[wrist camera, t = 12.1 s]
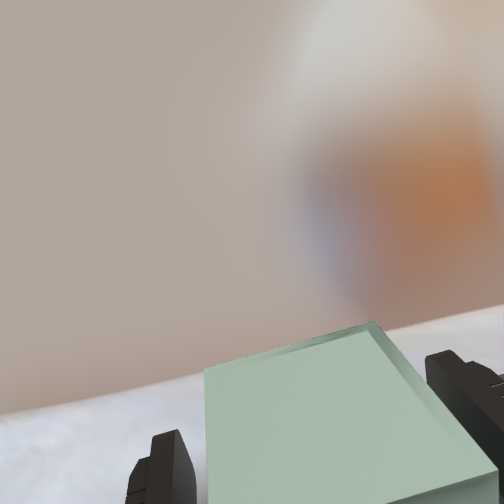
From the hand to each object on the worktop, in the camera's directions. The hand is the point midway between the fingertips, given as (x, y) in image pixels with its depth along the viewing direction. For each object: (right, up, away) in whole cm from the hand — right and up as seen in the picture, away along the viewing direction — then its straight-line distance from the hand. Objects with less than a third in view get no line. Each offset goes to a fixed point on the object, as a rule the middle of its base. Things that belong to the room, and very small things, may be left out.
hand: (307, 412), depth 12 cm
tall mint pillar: (+2, -7, +1) cm, 7 cm away
